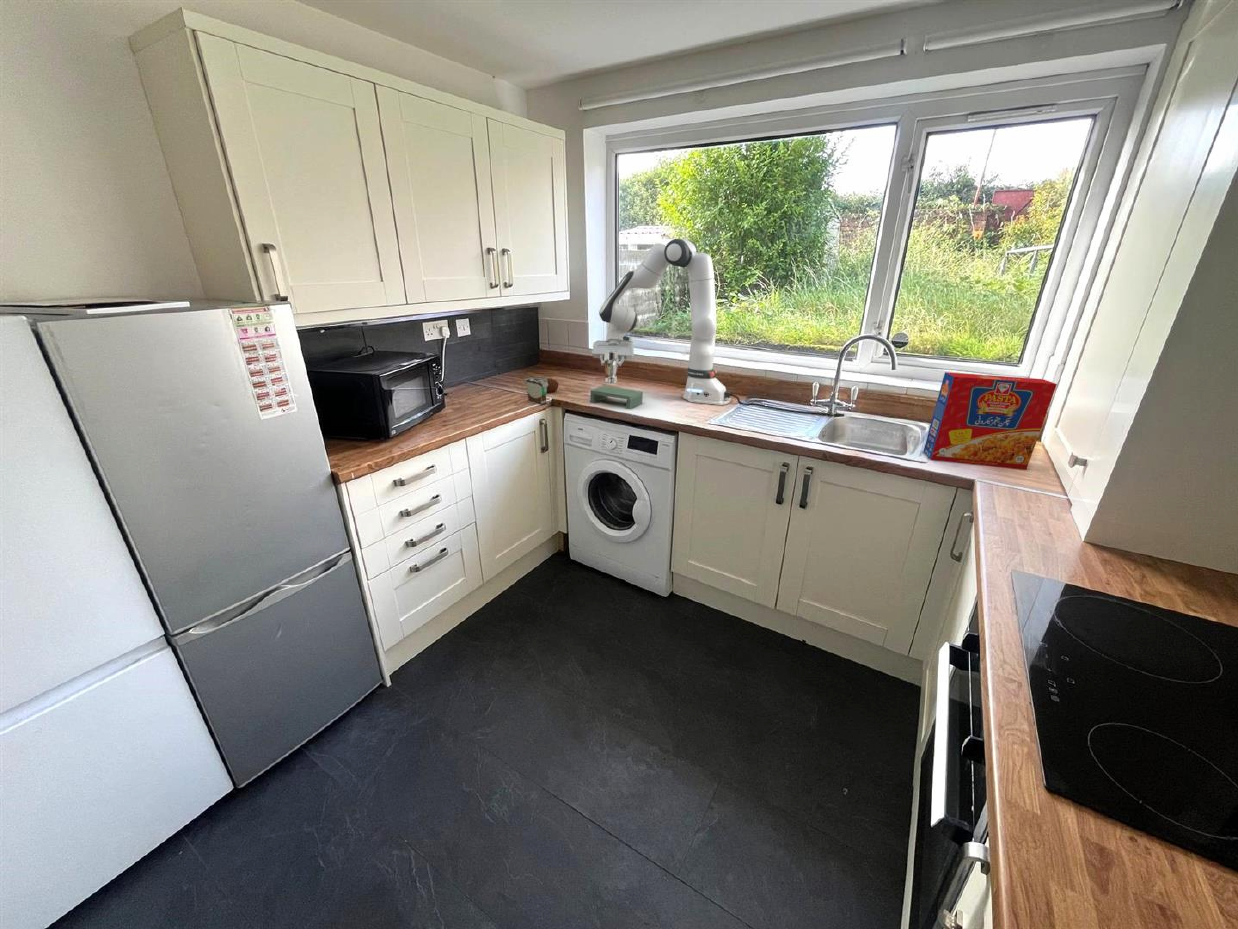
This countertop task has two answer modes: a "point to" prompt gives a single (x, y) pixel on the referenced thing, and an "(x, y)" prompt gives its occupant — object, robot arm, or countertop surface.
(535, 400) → the food container
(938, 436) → the pasta box
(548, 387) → the potato
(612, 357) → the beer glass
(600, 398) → the shelf
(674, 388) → the countertop surface
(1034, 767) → the countertop surface
